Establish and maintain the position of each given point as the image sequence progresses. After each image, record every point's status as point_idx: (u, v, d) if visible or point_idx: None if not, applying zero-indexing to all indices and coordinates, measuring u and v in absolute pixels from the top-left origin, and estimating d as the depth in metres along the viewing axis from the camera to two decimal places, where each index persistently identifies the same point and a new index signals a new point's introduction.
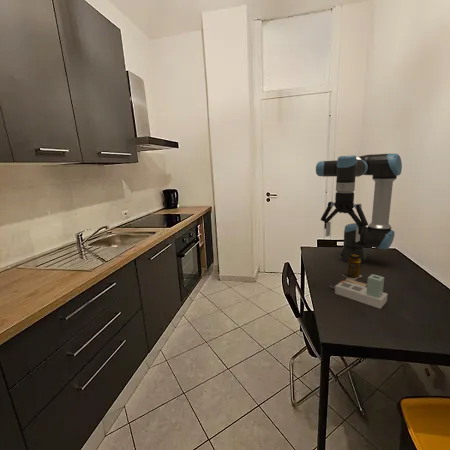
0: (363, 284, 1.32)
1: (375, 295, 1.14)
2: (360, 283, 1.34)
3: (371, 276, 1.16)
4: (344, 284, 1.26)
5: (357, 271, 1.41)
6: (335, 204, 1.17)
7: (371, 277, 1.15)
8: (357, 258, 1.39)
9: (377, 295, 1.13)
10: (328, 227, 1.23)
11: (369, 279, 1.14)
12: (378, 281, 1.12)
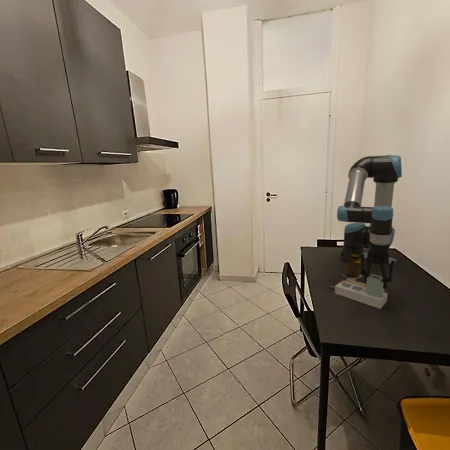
0: (363, 284, 1.32)
1: (375, 295, 1.14)
2: (360, 283, 1.34)
3: (371, 276, 1.16)
4: (344, 284, 1.26)
5: (357, 271, 1.41)
6: (368, 254, 1.14)
7: (371, 277, 1.15)
8: (357, 258, 1.39)
9: (377, 295, 1.13)
10: None
11: (369, 279, 1.14)
12: (378, 281, 1.12)
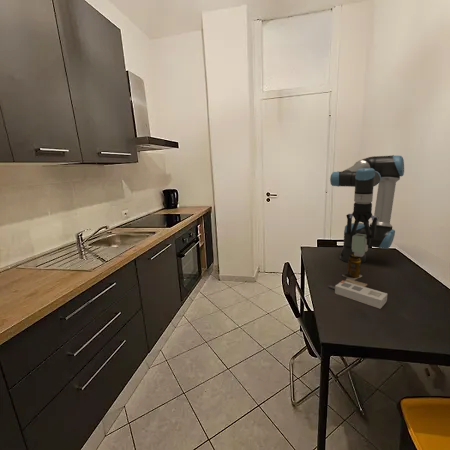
0: (363, 284, 1.32)
1: (360, 251, 1.24)
2: (360, 283, 1.34)
3: (356, 234, 1.26)
4: (344, 284, 1.26)
5: (357, 271, 1.41)
6: (353, 214, 1.24)
7: (356, 235, 1.25)
8: (357, 258, 1.39)
9: (361, 251, 1.23)
10: None
11: (354, 237, 1.24)
12: (362, 238, 1.22)
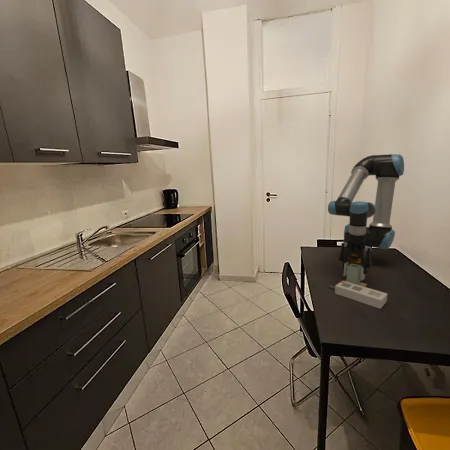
0: (363, 284, 1.32)
1: (353, 281, 1.30)
2: (360, 283, 1.34)
3: (350, 265, 1.32)
4: (344, 284, 1.26)
5: None
6: (348, 244, 1.30)
7: (350, 266, 1.31)
8: (357, 258, 1.39)
9: (355, 281, 1.29)
10: (346, 267, 1.34)
11: (348, 267, 1.31)
12: (356, 269, 1.28)
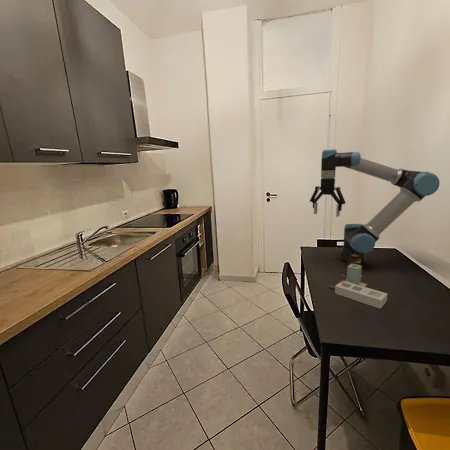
0: (363, 284, 1.32)
1: (353, 281, 1.30)
2: (360, 283, 1.34)
3: (350, 265, 1.32)
4: (344, 284, 1.26)
5: None
6: (320, 188, 1.50)
7: (350, 266, 1.31)
8: (357, 258, 1.39)
9: (355, 281, 1.29)
10: (315, 206, 1.55)
11: (348, 267, 1.31)
12: (356, 269, 1.28)
